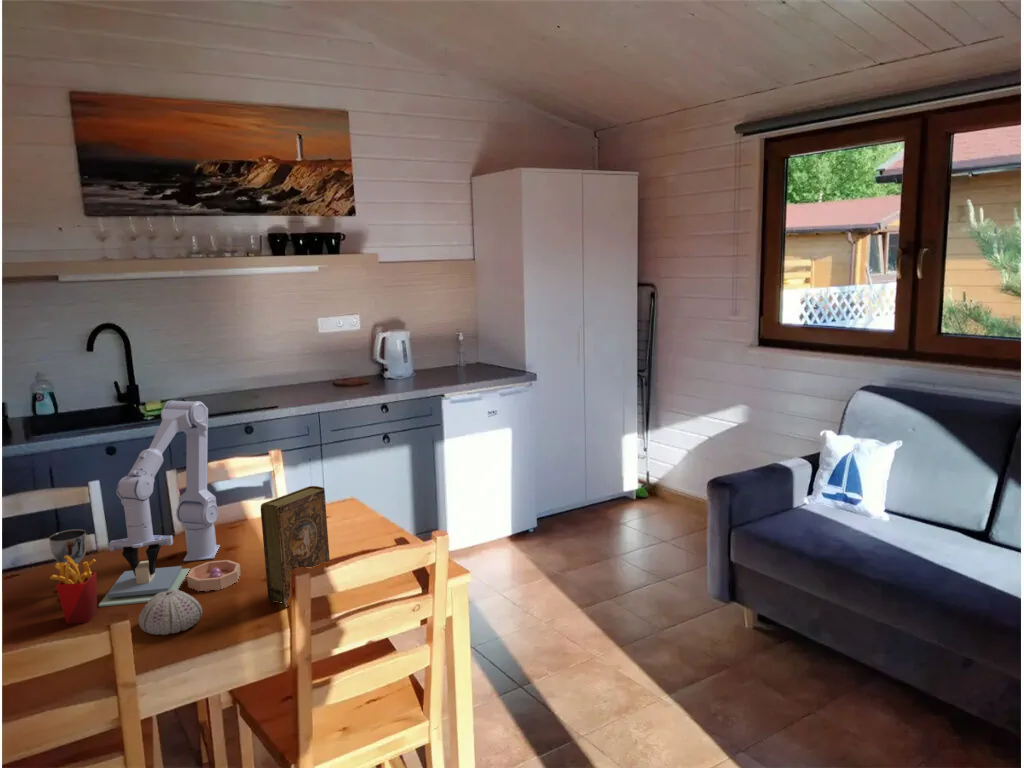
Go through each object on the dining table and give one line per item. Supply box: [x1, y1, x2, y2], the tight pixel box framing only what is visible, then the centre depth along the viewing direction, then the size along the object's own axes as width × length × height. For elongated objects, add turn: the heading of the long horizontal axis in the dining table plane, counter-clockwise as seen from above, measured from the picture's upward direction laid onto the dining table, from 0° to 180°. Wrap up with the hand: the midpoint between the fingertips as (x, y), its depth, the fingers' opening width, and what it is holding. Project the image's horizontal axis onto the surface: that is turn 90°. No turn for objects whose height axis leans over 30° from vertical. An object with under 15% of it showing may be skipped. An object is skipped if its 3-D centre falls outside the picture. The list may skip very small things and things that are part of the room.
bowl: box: [186, 559, 241, 592], centre depth 200 cm, size 12×12×3 cm
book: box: [260, 485, 331, 608], centre depth 189 cm, size 16×6×25 cm, turn 148°
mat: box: [97, 568, 191, 608], centre depth 197 cm, size 18×17×1 cm
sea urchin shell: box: [137, 589, 204, 636], centre depth 176 cm, size 13×14×8 cm
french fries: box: [49, 555, 98, 625], centre depth 179 cm, size 9×8×15 cm
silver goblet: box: [48, 528, 88, 569], centre depth 195 cm, size 8×8×15 cm
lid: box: [106, 560, 183, 598], centre depth 196 cm, size 14×14×5 cm
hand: (145, 573), depth 196 cm, fingers closed on lid, 3 cm apart
